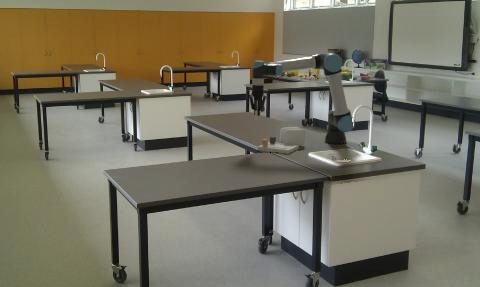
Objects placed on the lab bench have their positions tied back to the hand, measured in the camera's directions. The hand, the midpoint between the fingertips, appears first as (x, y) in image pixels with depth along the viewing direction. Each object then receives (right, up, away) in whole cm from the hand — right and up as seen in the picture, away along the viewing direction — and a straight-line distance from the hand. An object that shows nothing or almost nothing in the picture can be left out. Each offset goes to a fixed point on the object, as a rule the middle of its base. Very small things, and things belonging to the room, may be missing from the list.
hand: (256, 120), depth 350 cm
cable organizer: (+25, -16, +17) cm, 34 cm away
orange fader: (+6, -17, 0) cm, 18 cm away
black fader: (+11, -15, +9) cm, 21 cm away
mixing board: (+14, -19, +2) cm, 24 cm away
